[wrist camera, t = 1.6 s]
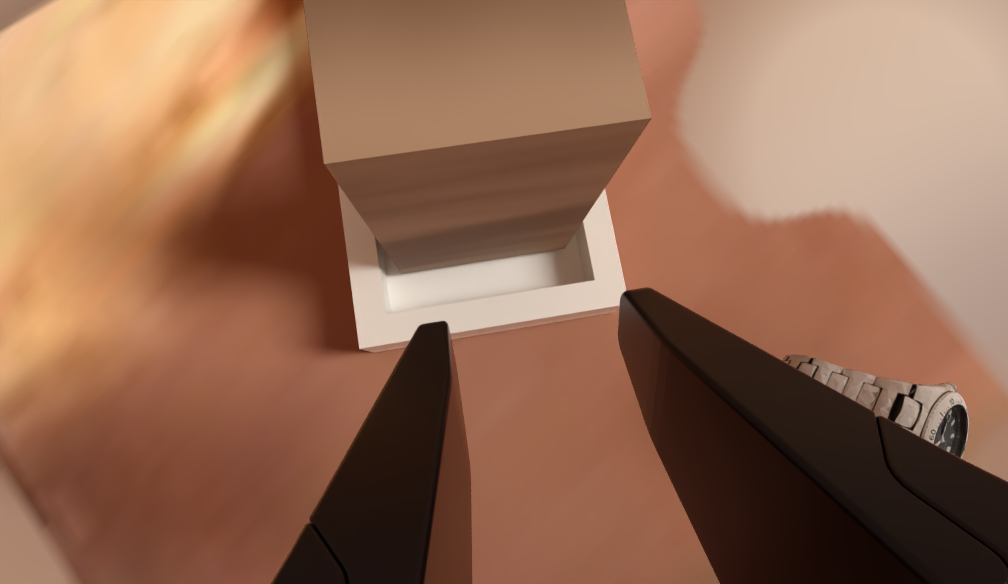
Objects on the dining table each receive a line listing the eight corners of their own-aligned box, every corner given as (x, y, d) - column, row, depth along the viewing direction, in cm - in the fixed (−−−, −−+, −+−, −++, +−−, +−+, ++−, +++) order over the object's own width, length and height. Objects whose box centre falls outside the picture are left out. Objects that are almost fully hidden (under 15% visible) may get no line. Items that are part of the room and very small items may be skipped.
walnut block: (564, 248, 20) (651, 118, 10) (401, 274, 19) (323, 164, 10) (544, 147, 20) (608, -71, 11) (386, 169, 20) (298, -36, 10)
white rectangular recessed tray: (611, 312, 21) (629, 303, 18) (373, 352, 20) (359, 348, 18) (533, -70, 24) (539, -122, 21) (320, -46, 23) (301, -97, 20)
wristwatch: (876, 491, 20) (1004, 526, 16) (732, 409, 21) (812, 417, 16) (910, 408, 21) (1043, 417, 16) (769, 329, 21) (858, 314, 16)
